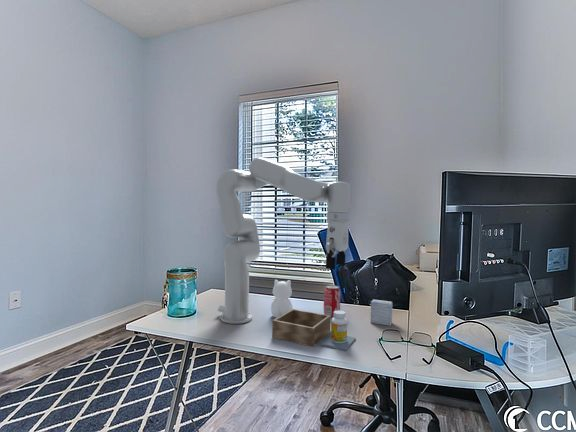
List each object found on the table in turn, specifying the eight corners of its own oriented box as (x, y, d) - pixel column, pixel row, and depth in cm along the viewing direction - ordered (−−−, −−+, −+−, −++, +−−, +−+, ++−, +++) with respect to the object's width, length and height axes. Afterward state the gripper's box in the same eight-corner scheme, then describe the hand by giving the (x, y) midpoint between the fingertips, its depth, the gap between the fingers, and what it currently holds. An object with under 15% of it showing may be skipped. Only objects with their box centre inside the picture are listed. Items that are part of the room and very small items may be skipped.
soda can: (339, 312, 148) (340, 285, 147) (340, 317, 141) (341, 288, 140) (323, 311, 148) (323, 284, 148) (323, 316, 141) (324, 288, 141)
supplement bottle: (329, 337, 117) (330, 309, 116) (344, 337, 117) (345, 309, 117) (332, 343, 111) (333, 314, 111) (348, 343, 112) (349, 314, 112)
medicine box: (392, 323, 135) (392, 301, 135) (390, 326, 131) (391, 304, 131) (372, 319, 138) (372, 299, 138) (370, 323, 134) (370, 301, 134)
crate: (272, 337, 117) (272, 320, 117) (292, 324, 131) (292, 308, 131) (313, 346, 110) (313, 328, 110) (330, 331, 124) (330, 315, 124)
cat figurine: (293, 313, 146) (294, 278, 146) (290, 322, 133) (291, 284, 133) (272, 312, 147) (273, 277, 147) (267, 321, 134) (268, 283, 134)
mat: (322, 345, 111) (322, 343, 111) (333, 334, 121) (333, 333, 121) (345, 350, 107) (345, 349, 107) (355, 339, 117) (355, 337, 117)
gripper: (339, 218, 107) (337, 272, 108) (356, 218, 122) (353, 264, 123) (317, 217, 111) (315, 269, 111) (336, 216, 126) (334, 262, 127)
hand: (335, 266), depth 117 cm, fingers open, 9 cm apart
